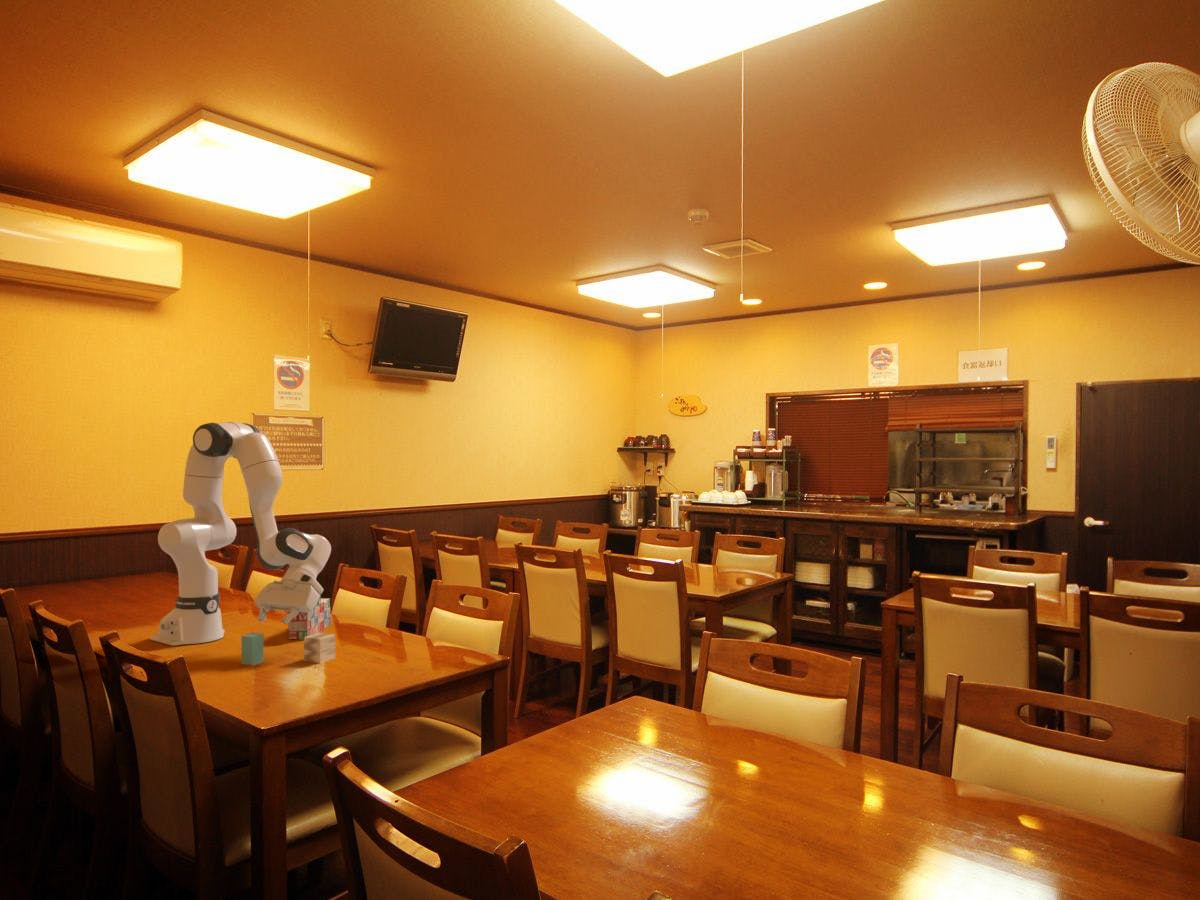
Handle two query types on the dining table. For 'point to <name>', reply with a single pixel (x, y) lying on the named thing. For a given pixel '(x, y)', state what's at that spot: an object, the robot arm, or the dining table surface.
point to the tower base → (319, 655)
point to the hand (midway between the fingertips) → (272, 621)
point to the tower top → (319, 642)
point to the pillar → (252, 649)
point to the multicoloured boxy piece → (310, 620)
